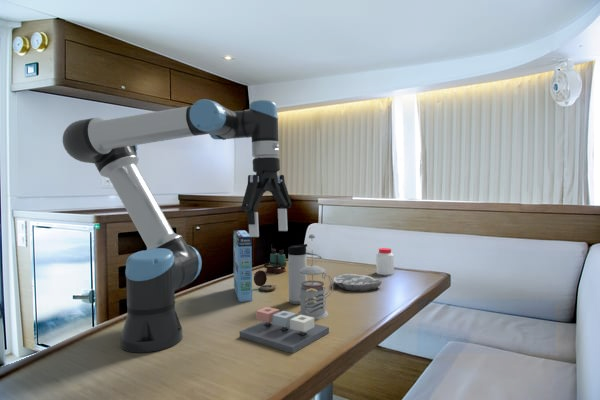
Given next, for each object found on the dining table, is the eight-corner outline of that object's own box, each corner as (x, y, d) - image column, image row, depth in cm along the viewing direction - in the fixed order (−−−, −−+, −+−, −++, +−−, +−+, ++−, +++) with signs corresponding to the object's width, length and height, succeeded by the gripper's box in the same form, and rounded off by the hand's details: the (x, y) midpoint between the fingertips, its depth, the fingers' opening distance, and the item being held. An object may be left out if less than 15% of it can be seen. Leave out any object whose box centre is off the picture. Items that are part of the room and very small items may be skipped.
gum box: (233, 288, 155) (232, 230, 154) (246, 287, 156) (245, 230, 155) (238, 302, 136) (237, 236, 135) (253, 301, 137) (252, 236, 136)
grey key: (285, 333, 102) (285, 317, 102) (272, 329, 105) (272, 314, 105) (296, 328, 106) (296, 313, 106) (283, 324, 108) (283, 310, 108)
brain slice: (322, 286, 156) (322, 279, 156) (350, 279, 168) (350, 272, 168) (360, 296, 142) (360, 288, 142) (388, 287, 153) (388, 280, 153)
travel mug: (306, 305, 131) (305, 245, 131) (287, 304, 133) (286, 245, 132) (309, 299, 138) (308, 243, 137) (291, 298, 139) (290, 242, 138)
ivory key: (304, 338, 99) (304, 322, 98) (290, 334, 101) (290, 319, 101) (314, 332, 102) (314, 317, 102) (300, 329, 105) (300, 314, 105)
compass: (266, 293, 147) (266, 274, 147) (253, 289, 152) (252, 271, 152) (282, 289, 153) (281, 270, 152) (268, 285, 158) (268, 267, 158)
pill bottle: (373, 272, 180) (373, 248, 179) (388, 270, 182) (388, 247, 181) (381, 275, 172) (381, 250, 172) (397, 274, 175) (397, 249, 174)
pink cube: (268, 328, 106) (268, 313, 106) (256, 325, 108) (256, 310, 108) (279, 323, 109) (279, 309, 109) (267, 320, 112) (267, 306, 112)
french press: (292, 311, 125) (291, 233, 124) (326, 307, 129) (325, 231, 128) (304, 321, 116) (302, 237, 115) (339, 316, 120) (338, 234, 119)
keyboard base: (292, 353, 94) (292, 347, 94) (239, 336, 104) (239, 331, 104) (329, 332, 106) (328, 327, 106) (278, 319, 117) (278, 314, 117)
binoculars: (260, 252, 179) (272, 247, 188) (261, 274, 181) (274, 268, 189) (275, 254, 175) (288, 248, 183) (277, 277, 176) (289, 270, 184)
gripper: (247, 154, 96) (251, 240, 97) (301, 158, 118) (304, 228, 118) (225, 156, 100) (229, 239, 101) (280, 160, 122) (283, 228, 122)
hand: (269, 233), depth 110 cm, fingers open, 13 cm apart
